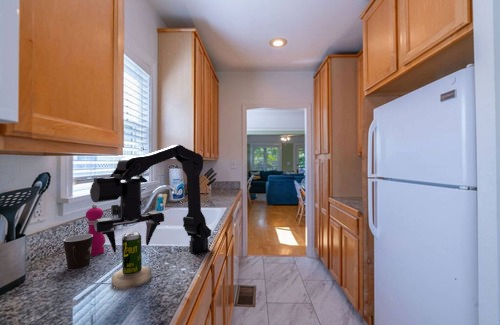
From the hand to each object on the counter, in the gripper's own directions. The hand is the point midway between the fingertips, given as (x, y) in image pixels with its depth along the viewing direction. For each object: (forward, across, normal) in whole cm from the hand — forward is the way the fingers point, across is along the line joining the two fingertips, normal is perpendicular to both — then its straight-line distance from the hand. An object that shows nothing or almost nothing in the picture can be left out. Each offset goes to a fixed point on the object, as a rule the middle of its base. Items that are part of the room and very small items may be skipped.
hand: (131, 248), depth 74 cm
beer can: (+8, 0, 0) cm, 8 cm away
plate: (+10, 0, 0) cm, 10 cm away
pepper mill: (+10, +6, -35) cm, 37 cm away
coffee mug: (+10, +13, -23) cm, 28 cm away
